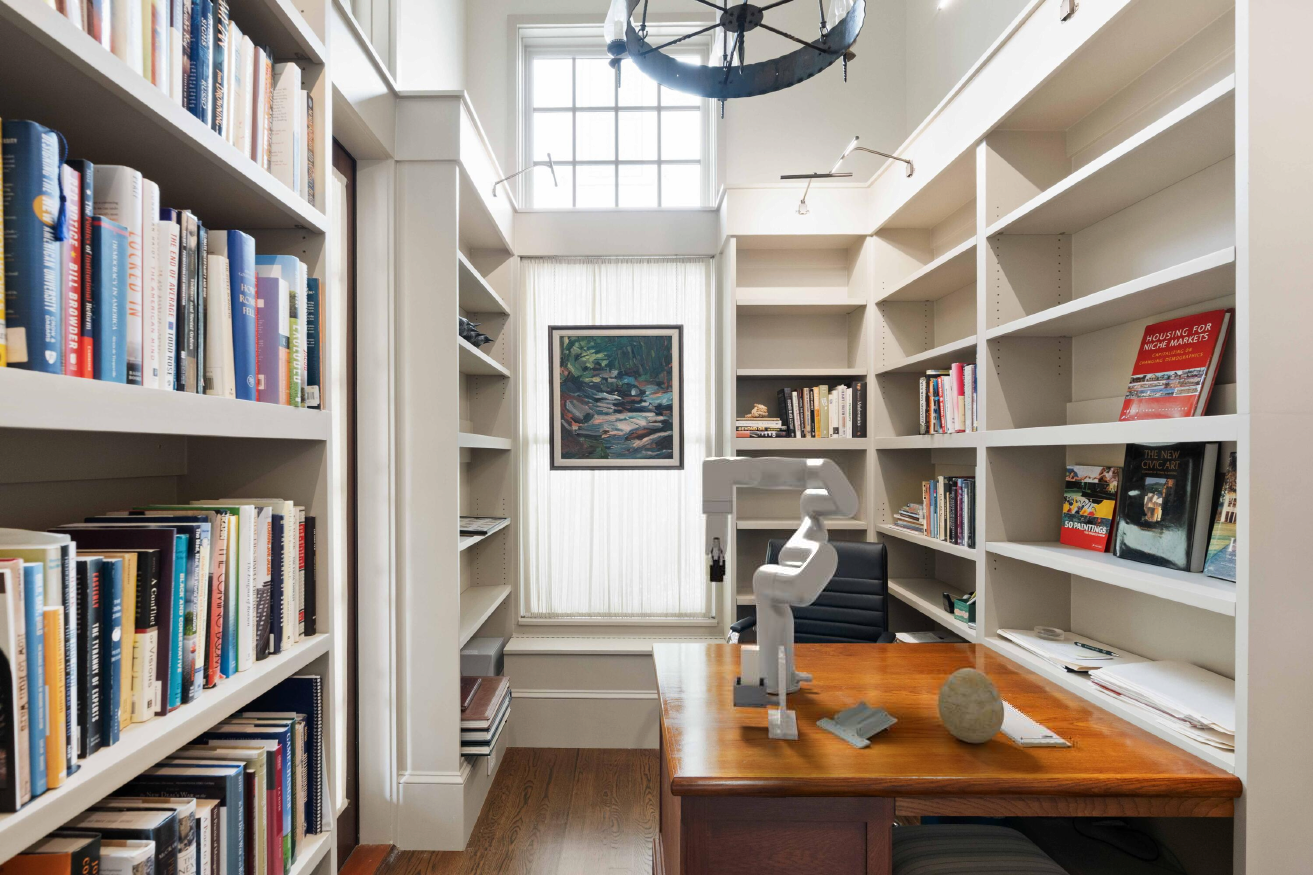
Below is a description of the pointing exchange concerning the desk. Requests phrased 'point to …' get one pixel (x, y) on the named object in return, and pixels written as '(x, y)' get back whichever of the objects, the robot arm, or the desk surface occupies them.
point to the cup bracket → (769, 702)
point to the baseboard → (1028, 730)
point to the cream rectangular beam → (749, 665)
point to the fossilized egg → (971, 706)
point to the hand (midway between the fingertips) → (717, 578)
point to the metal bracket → (858, 724)
